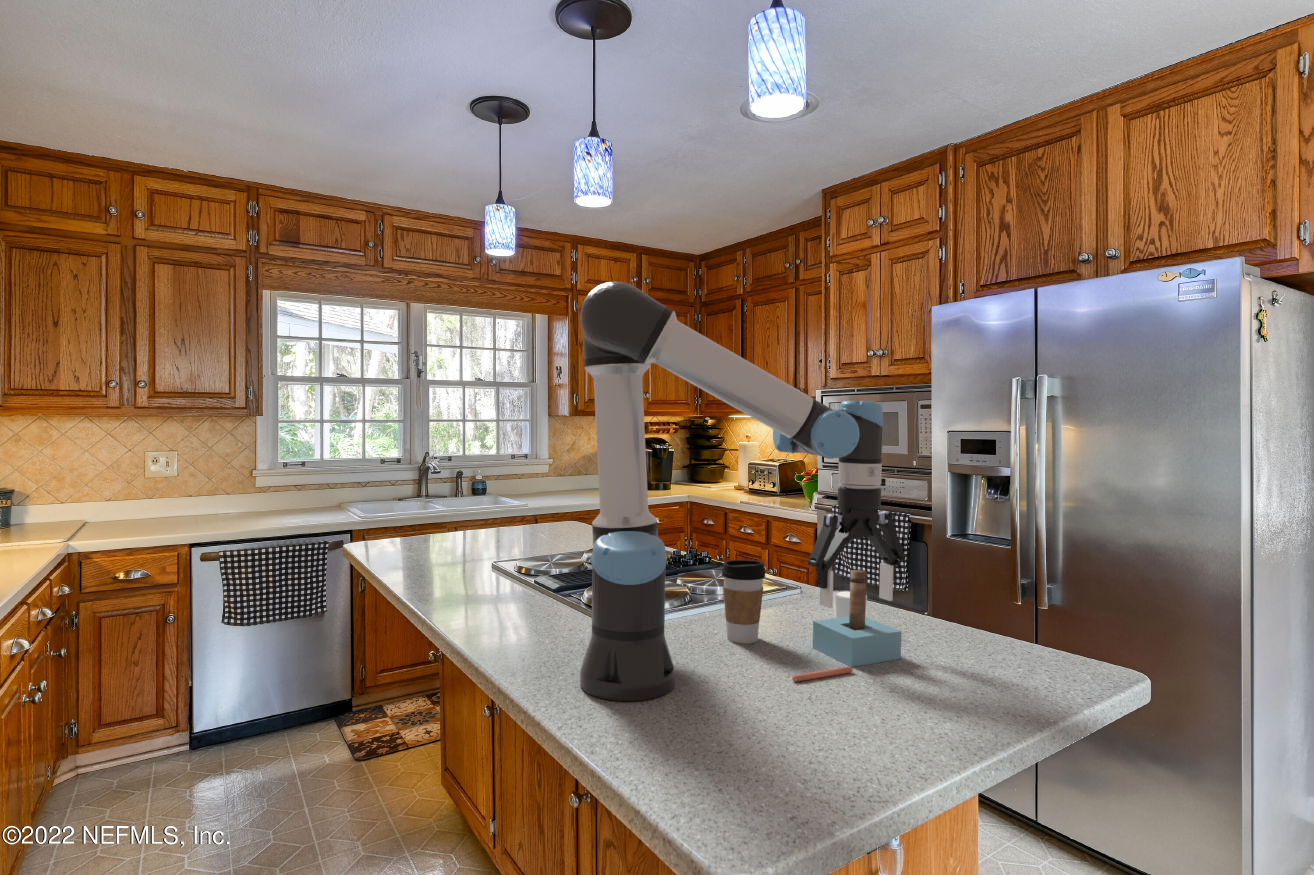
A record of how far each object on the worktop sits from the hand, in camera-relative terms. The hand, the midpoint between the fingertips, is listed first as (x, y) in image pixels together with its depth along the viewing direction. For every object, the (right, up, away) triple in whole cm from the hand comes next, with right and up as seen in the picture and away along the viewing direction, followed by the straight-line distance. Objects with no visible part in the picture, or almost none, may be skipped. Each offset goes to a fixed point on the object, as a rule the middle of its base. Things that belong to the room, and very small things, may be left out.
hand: (856, 602), depth 130 cm
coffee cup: (-20, -9, +8) cm, 23 cm away
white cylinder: (+3, -9, +16) cm, 18 cm away
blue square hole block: (0, -9, 0) cm, 9 cm away
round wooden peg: (0, -9, 0) cm, 9 cm away
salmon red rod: (-9, -10, -12) cm, 18 cm away
